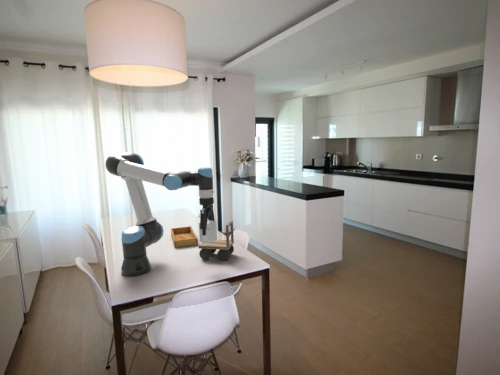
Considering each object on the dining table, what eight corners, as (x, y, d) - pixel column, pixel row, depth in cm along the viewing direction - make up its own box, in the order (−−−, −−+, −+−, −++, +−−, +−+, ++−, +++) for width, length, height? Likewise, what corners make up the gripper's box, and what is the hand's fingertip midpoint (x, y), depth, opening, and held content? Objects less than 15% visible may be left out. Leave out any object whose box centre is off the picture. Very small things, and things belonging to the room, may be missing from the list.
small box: (210, 238, 172) (209, 219, 170) (217, 239, 168) (216, 221, 167) (199, 241, 166) (198, 222, 164) (206, 243, 162) (205, 224, 161)
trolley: (229, 261, 177) (227, 225, 174) (199, 259, 181) (197, 224, 178) (234, 253, 189) (232, 220, 186) (206, 252, 193) (204, 219, 190)
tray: (197, 245, 208) (197, 237, 207) (174, 248, 203) (174, 240, 202) (191, 233, 237) (191, 226, 236) (171, 235, 232) (170, 228, 231)
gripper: (206, 201, 152) (208, 244, 155) (219, 193, 174) (220, 232, 177) (191, 200, 154) (194, 244, 157) (206, 193, 175) (208, 231, 178)
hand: (208, 237), depth 167 cm, fingers closed on small box, 9 cm apart
